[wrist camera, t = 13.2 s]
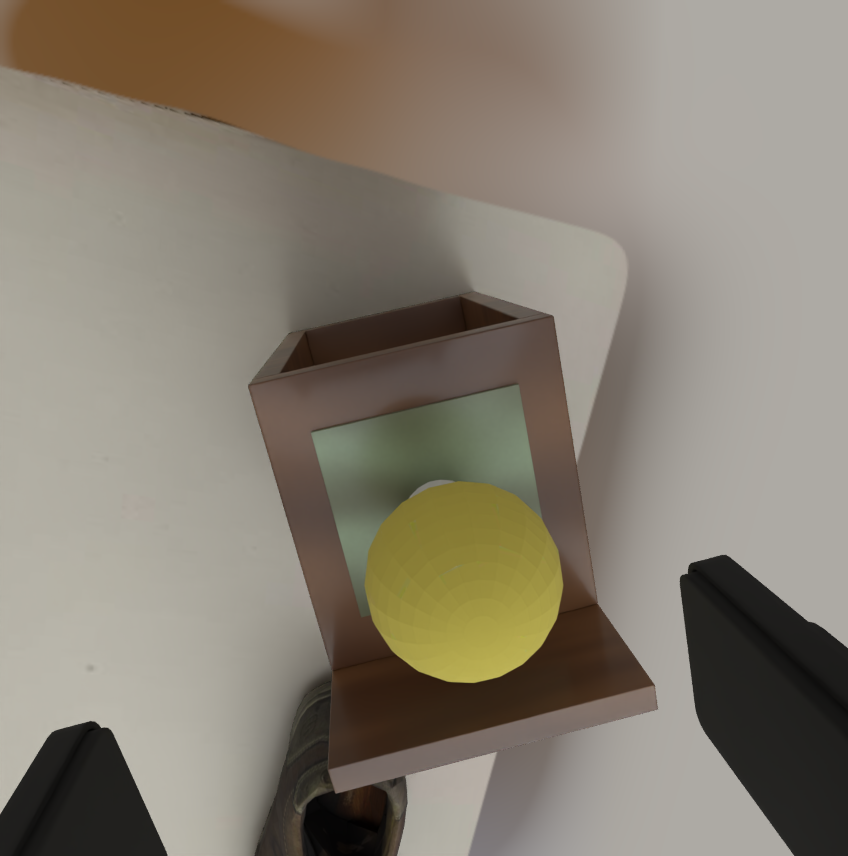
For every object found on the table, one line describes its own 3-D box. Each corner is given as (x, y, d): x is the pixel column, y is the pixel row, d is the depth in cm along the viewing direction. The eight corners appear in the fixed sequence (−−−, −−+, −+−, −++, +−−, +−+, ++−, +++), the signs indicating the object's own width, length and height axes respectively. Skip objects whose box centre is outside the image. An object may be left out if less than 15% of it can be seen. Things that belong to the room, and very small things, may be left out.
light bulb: (417, 402, 27) (454, 483, 18) (542, 482, 29) (637, 597, 19) (331, 528, 28) (321, 669, 19) (456, 599, 30) (506, 763, 20)
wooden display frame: (288, 333, 44) (218, 421, 21) (474, 291, 44) (608, 331, 21) (342, 534, 48) (335, 794, 25) (512, 493, 49) (658, 710, 26)
